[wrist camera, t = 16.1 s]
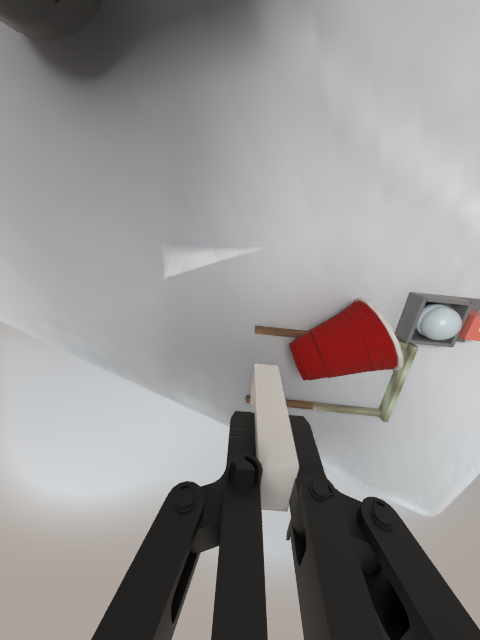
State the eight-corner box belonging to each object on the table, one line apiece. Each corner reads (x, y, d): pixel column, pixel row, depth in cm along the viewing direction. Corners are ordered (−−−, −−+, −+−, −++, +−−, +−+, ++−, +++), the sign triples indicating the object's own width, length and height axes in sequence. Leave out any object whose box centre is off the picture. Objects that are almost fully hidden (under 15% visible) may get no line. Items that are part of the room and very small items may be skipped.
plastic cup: (299, 360, 42) (367, 336, 39) (316, 413, 32) (407, 386, 30) (277, 313, 36) (354, 282, 34) (290, 360, 27) (398, 322, 25)
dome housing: (409, 292, 35) (428, 299, 31) (482, 299, 35) (509, 307, 31) (394, 334, 38) (410, 345, 34) (462, 341, 38) (485, 353, 34)
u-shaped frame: (255, 325, 38) (255, 330, 36) (410, 341, 38) (418, 347, 36) (245, 399, 43) (245, 407, 41) (381, 413, 43) (387, 422, 41)
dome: (415, 299, 35) (441, 310, 30) (448, 303, 35) (479, 314, 30) (404, 330, 37) (426, 344, 32) (435, 333, 37) (462, 348, 32)
